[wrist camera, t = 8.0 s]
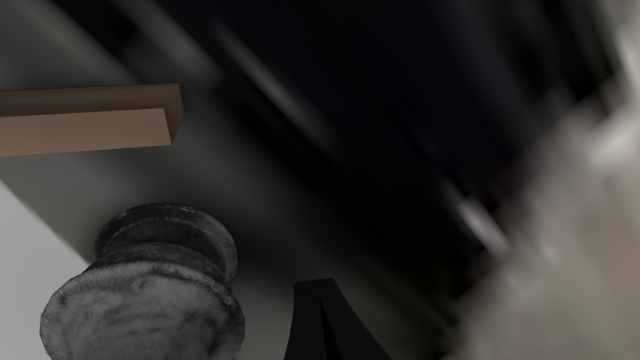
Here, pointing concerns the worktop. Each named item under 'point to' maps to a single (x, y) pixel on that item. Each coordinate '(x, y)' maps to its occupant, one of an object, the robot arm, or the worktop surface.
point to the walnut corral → (89, 118)
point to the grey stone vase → (150, 292)
